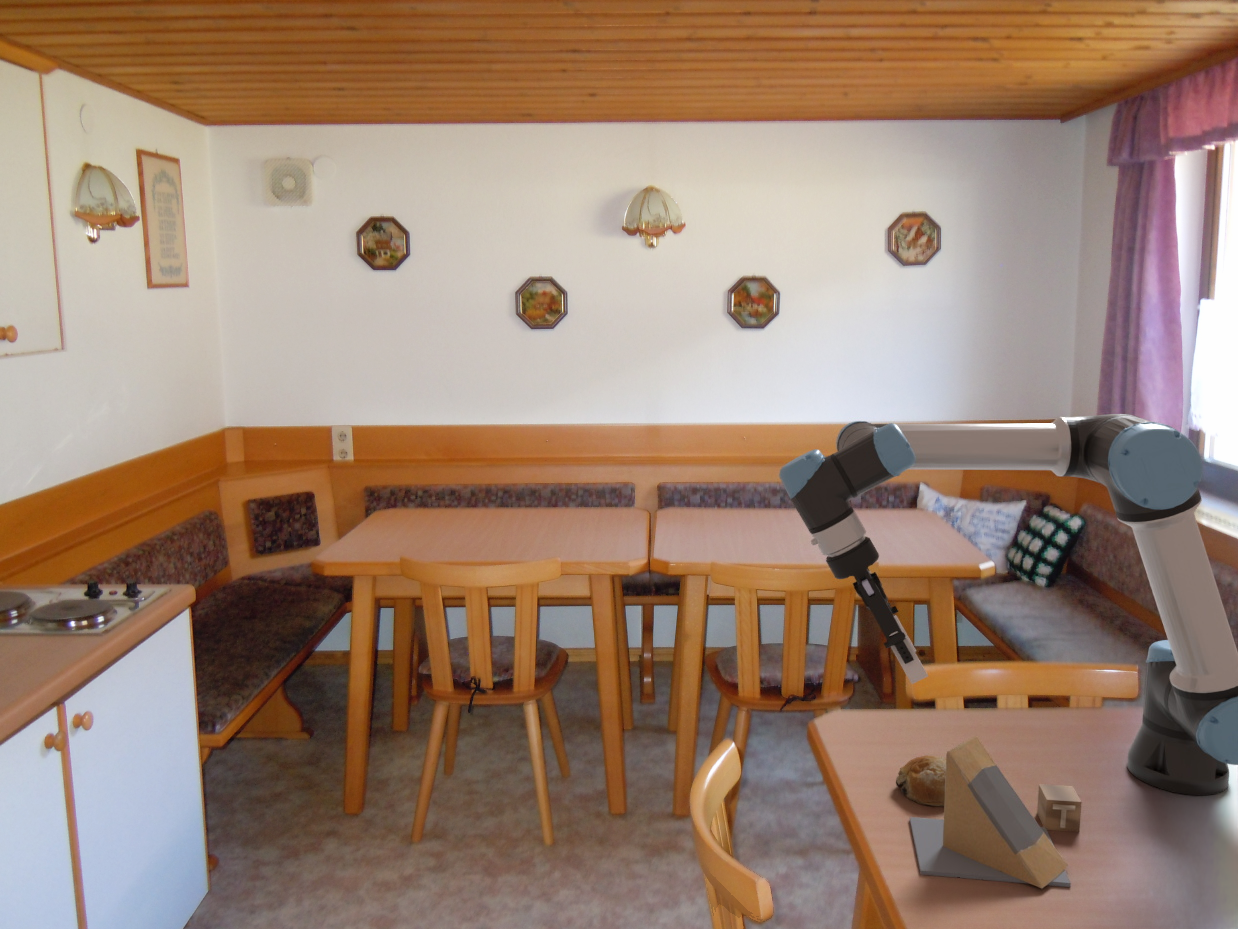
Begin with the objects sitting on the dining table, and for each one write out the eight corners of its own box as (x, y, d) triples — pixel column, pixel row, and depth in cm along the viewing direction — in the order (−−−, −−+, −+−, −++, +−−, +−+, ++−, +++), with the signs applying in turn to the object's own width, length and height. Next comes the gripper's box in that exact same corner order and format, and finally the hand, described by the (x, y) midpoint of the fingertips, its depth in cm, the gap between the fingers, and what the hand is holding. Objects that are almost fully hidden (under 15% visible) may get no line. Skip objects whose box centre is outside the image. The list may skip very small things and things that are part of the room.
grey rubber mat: (1045, 831, 157) (1045, 827, 157) (1070, 887, 142) (1070, 883, 142) (909, 820, 160) (909, 817, 160) (920, 874, 146) (920, 870, 146)
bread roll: (940, 832, 164) (964, 795, 161) (883, 792, 168) (906, 755, 165) (955, 805, 172) (979, 770, 169) (901, 768, 176) (923, 732, 173)
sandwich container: (1042, 890, 141) (1049, 788, 138) (941, 846, 152) (945, 751, 149) (1070, 866, 146) (1077, 767, 144) (970, 825, 158) (975, 733, 155)
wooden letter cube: (1070, 815, 162) (1072, 786, 161) (1079, 833, 157) (1081, 802, 156) (1036, 813, 162) (1038, 784, 161) (1045, 830, 157) (1047, 800, 156)
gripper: (820, 544, 171) (883, 655, 171) (827, 573, 147) (901, 703, 147) (861, 522, 170) (924, 634, 170) (875, 548, 145) (949, 679, 145)
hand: (914, 666), depth 158 cm, fingers open, 13 cm apart
